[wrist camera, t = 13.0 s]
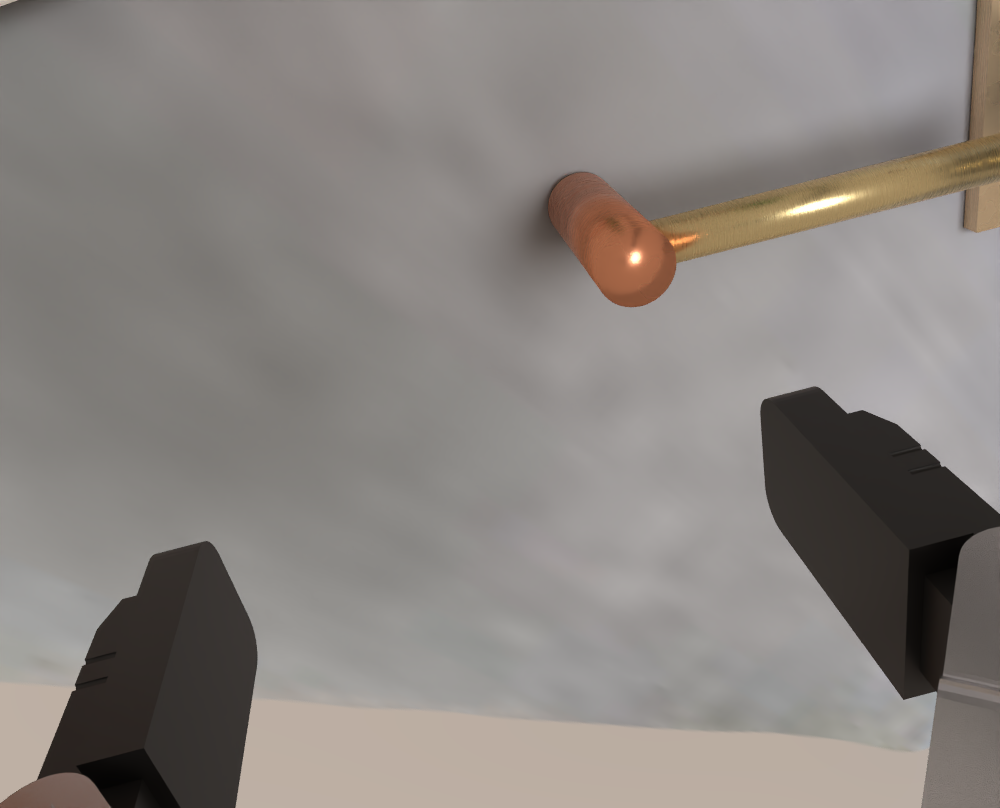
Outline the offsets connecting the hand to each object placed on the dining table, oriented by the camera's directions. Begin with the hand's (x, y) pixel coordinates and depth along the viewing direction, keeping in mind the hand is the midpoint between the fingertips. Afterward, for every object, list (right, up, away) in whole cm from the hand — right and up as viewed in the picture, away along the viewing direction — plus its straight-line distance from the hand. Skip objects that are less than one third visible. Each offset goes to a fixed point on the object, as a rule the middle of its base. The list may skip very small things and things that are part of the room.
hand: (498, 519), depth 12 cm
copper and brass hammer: (+12, +13, +27) cm, 32 cm away
